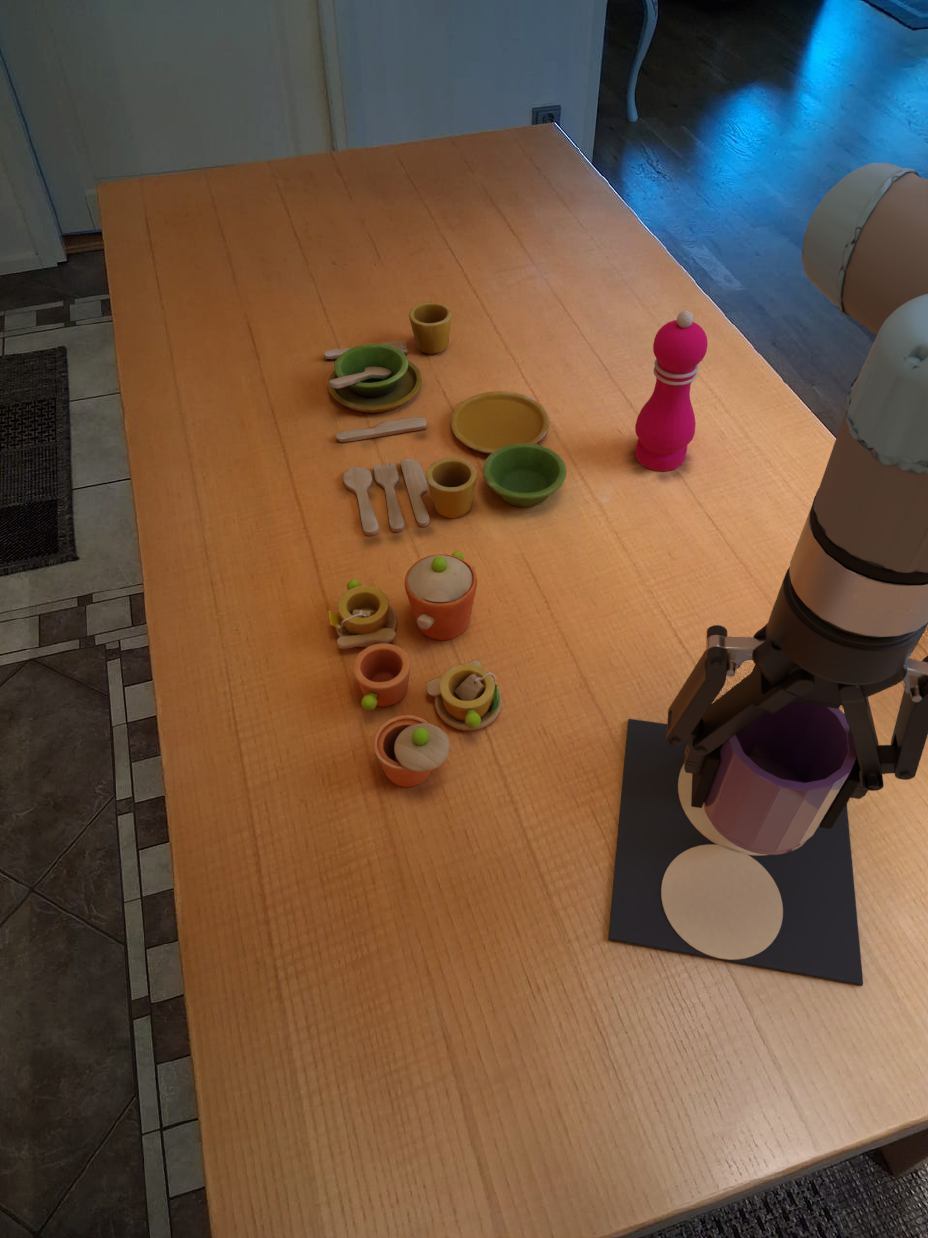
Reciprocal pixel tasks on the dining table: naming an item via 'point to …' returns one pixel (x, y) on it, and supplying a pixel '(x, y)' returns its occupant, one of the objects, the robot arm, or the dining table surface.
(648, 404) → the pepper mill
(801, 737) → the purple cup
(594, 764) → the dining table surface
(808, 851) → the placemat
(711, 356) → the dining table surface
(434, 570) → the toy tea set
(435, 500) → the tableware set
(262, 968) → the dining table surface
